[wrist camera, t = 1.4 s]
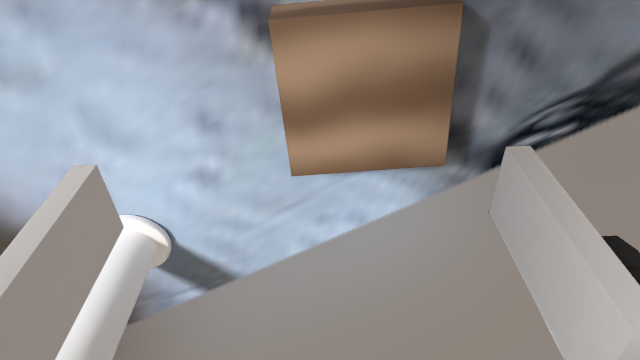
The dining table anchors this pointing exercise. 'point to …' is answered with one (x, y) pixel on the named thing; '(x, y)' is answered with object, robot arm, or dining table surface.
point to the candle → (116, 290)
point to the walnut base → (365, 82)
